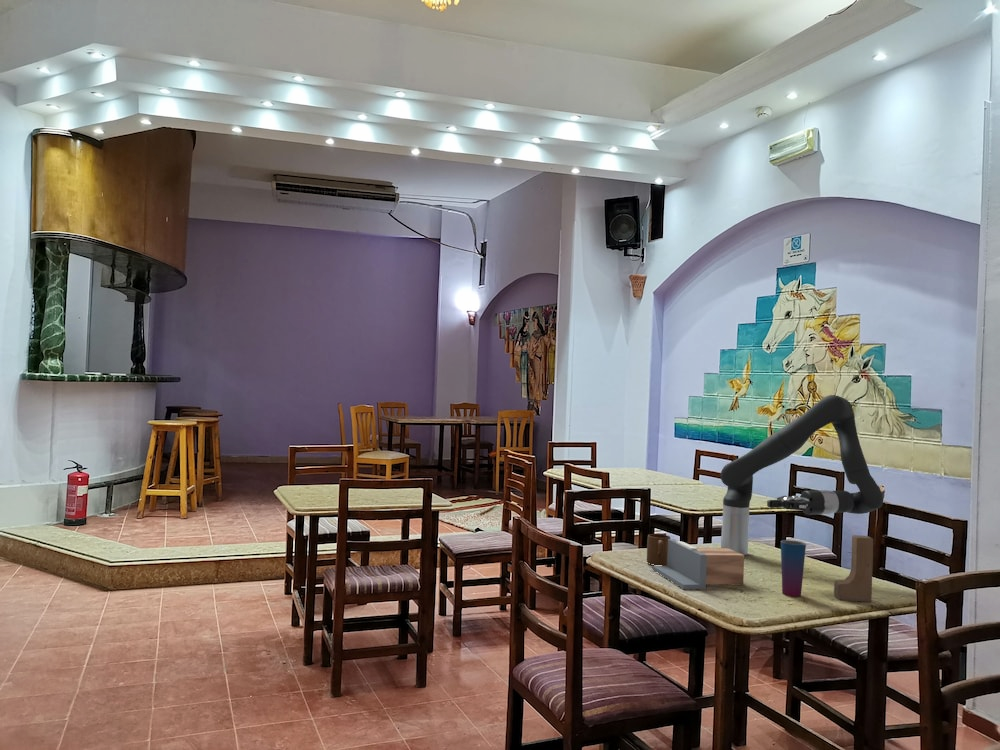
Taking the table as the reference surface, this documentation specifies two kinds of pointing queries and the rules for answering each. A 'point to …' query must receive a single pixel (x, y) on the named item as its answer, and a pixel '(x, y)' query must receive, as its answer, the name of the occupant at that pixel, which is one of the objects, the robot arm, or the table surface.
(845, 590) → the wooden block
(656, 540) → the mug
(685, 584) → the rail
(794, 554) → the cup
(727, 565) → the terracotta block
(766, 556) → the table surface
